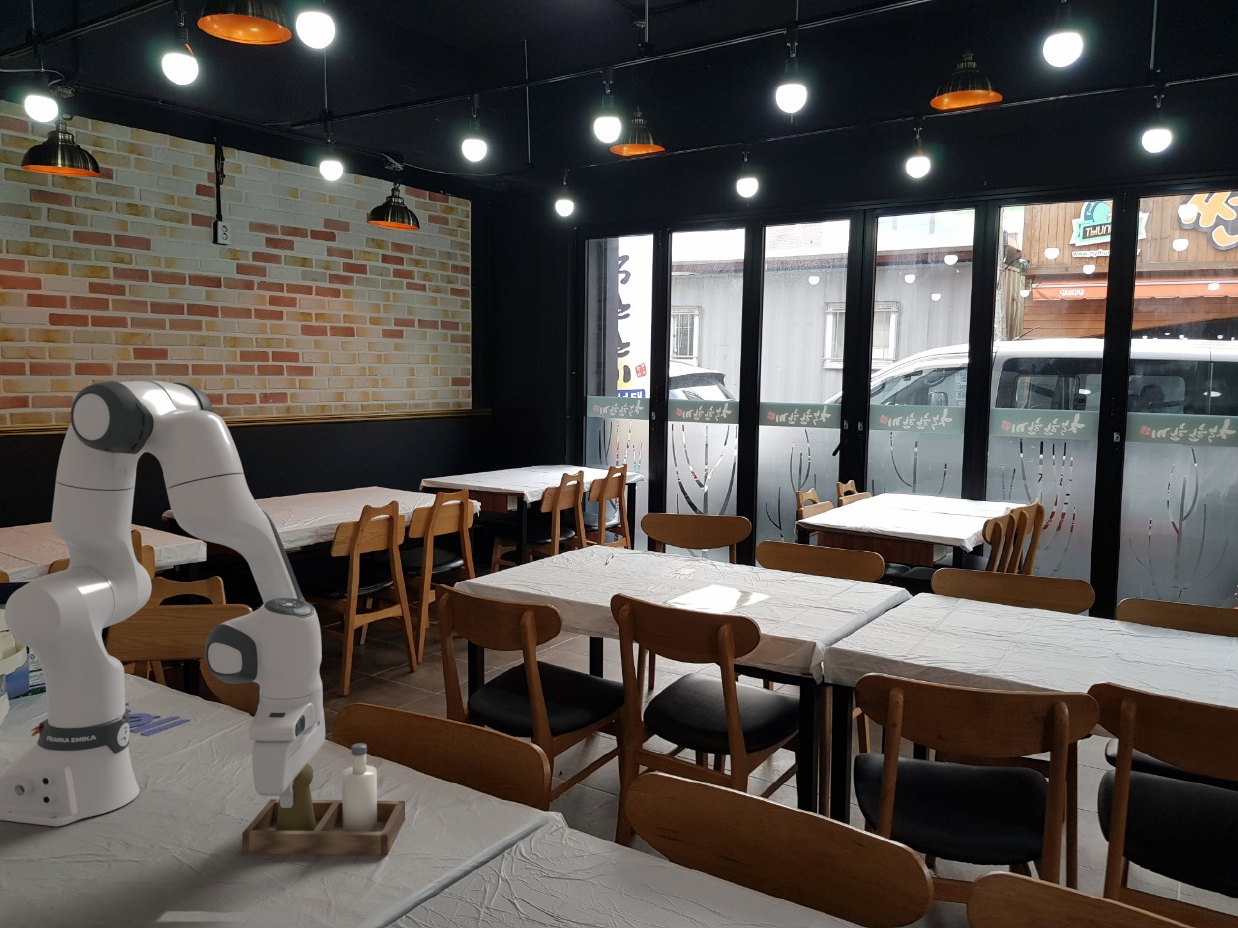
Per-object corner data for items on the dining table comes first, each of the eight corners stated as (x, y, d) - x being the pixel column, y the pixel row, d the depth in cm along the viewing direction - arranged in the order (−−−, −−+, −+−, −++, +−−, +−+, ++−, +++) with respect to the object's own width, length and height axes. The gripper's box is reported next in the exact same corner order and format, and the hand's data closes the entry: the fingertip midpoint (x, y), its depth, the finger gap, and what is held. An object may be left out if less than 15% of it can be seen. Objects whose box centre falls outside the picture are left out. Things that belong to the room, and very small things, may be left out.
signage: (56, 709, 192) (102, 695, 201) (56, 713, 192) (102, 698, 201) (145, 735, 179) (190, 718, 188) (145, 738, 179) (190, 722, 188)
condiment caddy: (242, 859, 134) (242, 833, 133) (271, 823, 145) (270, 799, 144) (387, 861, 134) (387, 834, 133) (405, 825, 145) (404, 800, 144)
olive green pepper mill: (304, 846, 136) (303, 774, 135) (266, 842, 137) (265, 770, 136) (324, 827, 142) (323, 757, 141) (287, 823, 143) (286, 754, 142)
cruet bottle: (338, 843, 137) (337, 752, 135) (348, 827, 142) (347, 739, 140) (372, 844, 137) (371, 752, 135) (381, 828, 142) (380, 739, 140)
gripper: (295, 685, 148) (297, 769, 149) (243, 733, 127) (245, 830, 128) (334, 685, 148) (336, 769, 149) (288, 734, 127) (291, 830, 128)
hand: (293, 797), depth 138 cm, fingers closed on olive green pepper mill, 4 cm apart
